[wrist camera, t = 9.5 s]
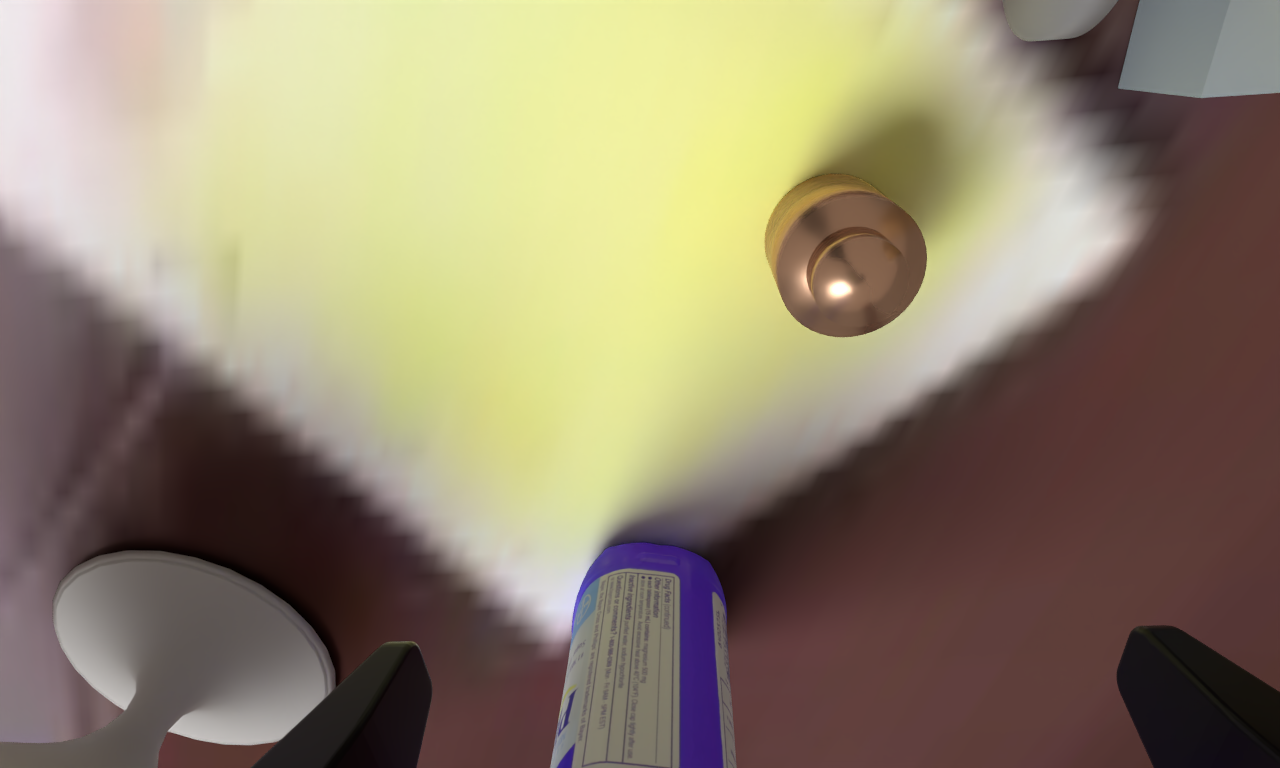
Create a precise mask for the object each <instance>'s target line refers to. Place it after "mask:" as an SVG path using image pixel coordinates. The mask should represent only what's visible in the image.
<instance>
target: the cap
mask: <svg viewBox="0 0 1280 768" xmlns="http://www.w3.org/2000/svg"><path fill="white" fill-rule="evenodd" d="M765 252H766V257H767V260H768V263H769V266H770V268H771V271H772V274H773V276H774V279H775V281H776V284H777V287H778V289H779V292H780V294H781V297H782V300H783V302H784V304H785V306H786V308H787V309H788V310H789V312H790V313H791V315H792V316H793V317H794V318H795V319H796V320H797V321H798V322H800V323H801V324H802V325H804V326H805V327H807V328H809V329H810V330H812V331H815V332H817V333H820V334H823V335H827V336H834V337H852V336H858V335H863V334H866V333H869V332H872V331H875V330H877V329H879V328H881V327H883V326H885V325H886V324H888V323H890V322H891V321H893V320H894V319H895V318H896V317H898V316H899V315H900V314H901V313H902V312H903V311H904V310H905V309H906V308H907V307H908V306H909V304H910V303H911V302H912V301H913V299H914V297H915V296H916V294H917V293H918V291H919V289H920V287H921V284H922V281H923V278H924V275H925V270H926V262H927V253H926V246H925V241H924V238H923V236H922V233H921V231H920V229H919V227H918V226H917V224H916V223H915V221H914V220H913V219H912V218H911V216H909V215H908V214H907V213H906V212H905V211H904V210H903V209H901V208H900V207H899V206H897V205H896V204H895V203H894V202H892V201H891V200H890V199H888V198H887V197H886V196H885V195H883V194H882V193H881V192H879V191H878V190H877V189H876V188H874V187H873V186H872V185H870V184H869V183H867V182H866V181H864V180H862V179H860V178H857V177H854V176H851V175H845V174H826V175H821V176H817V177H814V178H811V179H809V180H806V181H804V182H803V183H801V184H799V185H797V186H796V187H795V188H793V189H792V190H791V191H789V192H788V193H787V194H786V195H785V196H784V197H783V198H782V199H781V201H780V202H779V203H778V204H777V206H776V207H775V209H774V211H773V213H772V215H771V217H770V219H769V222H768V225H767V228H766V233H765Z"/></svg>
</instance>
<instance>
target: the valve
mask: <svg viewBox="0 0 1280 768" xmlns="http://www.w3.org/2000/svg"><path fill="white" fill-rule="evenodd" d="M1002 1H1003V6H1004V11H1005V15H1006V19H1007V21H1008V24H1009V26H1010V28H1011V29H1012V31H1013V33H1014V34H1015V35H1016V36H1017V37H1018V38H1020V39H1022V40H1024V41H1042V40H1056V39H1069V38H1075V37H1078V36H1080V35H1083V34H1085V33H1086V32H1088V31H1089V30H1091V29H1092V28H1093V27H1095V26H1096V25H1097V24H1098V23H1099V22H1100V21H1101V20H1102V19H1103V18H1104V17H1105V16H1106V15H1107V14H1108V13H1109V12H1110V10H1111V9H1112V8H1113V7H1114V5H1115V4H1116V3H1117V1H1118V0H1002ZM1118 88H1119V89H1128V90H1136V91H1145V92H1154V93H1163V94H1171V95H1180V96H1189V97H1198V98H1206V97H1222V96H1237V95H1252V94H1267V93H1280V0H1140V1H1139V5H1138V9H1137V13H1136V17H1135V21H1134V25H1133V29H1132V33H1131V37H1130V42H1129V46H1128V50H1127V54H1126V58H1125V62H1124V66H1123V70H1122V74H1121V78H1120V82H1119V86H1118Z"/></svg>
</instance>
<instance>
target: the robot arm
mask: <svg viewBox="0 0 1280 768" xmlns="http://www.w3.org/2000/svg"><path fill="white" fill-rule="evenodd" d="M1117 684H1118V688H1119V691H1120V693H1121V696H1122V698H1123V700H1124V703H1125V705H1126V707H1127V709H1128V711H1129V714H1130V716H1131V718H1132V720H1133V723H1134V725H1135V727H1136V729H1137V732H1138V734H1139V736H1140V738H1141V740H1142V743H1143V745H1144V747H1145V749H1146V752H1147V754H1148V756H1149V758H1150V761H1151V763H1152V765H1153V767H1154V768H1280V692H1279V691H1277V690H1276V689H1274V688H1273V687H1271V686H1269V685H1268V684H1266V683H1265V682H1263V681H1261V680H1260V679H1258V678H1257V677H1255V676H1254V675H1252V674H1250V673H1249V672H1247V671H1246V670H1244V669H1242V668H1241V667H1239V666H1238V665H1236V664H1235V663H1233V662H1231V661H1230V660H1228V659H1227V658H1225V657H1224V656H1222V655H1220V654H1219V653H1217V652H1216V651H1214V650H1212V649H1211V648H1209V647H1208V646H1206V645H1205V644H1203V643H1201V642H1200V641H1198V640H1197V639H1195V638H1193V637H1192V636H1190V635H1189V634H1187V633H1186V632H1184V631H1182V630H1180V629H1178V628H1176V627H1173V626H1166V625H1160V626H1138V627H1136V628H1134V629H1133V630H1132V631H1131V633H1130V635H1129V638H1128V640H1127V643H1126V646H1125V649H1124V652H1123V654H1122V657H1121V660H1120V663H1119V666H1118V669H1117ZM431 699H432V682H431V679H430V676H429V673H428V670H427V667H426V665H425V662H424V659H423V656H422V654H421V651H420V648H419V646H418V645H417V644H416V643H415V642H412V641H399V642H387V643H385V644H383V645H381V646H380V647H379V648H378V649H377V650H376V651H374V652H373V653H372V654H371V655H370V656H369V657H368V658H367V659H366V660H365V661H364V662H363V663H362V664H361V665H360V666H359V667H357V668H356V669H355V670H354V671H353V672H352V673H351V674H350V675H349V676H348V677H347V678H346V679H345V680H344V681H343V682H341V683H340V684H339V685H338V686H337V687H336V688H335V689H334V690H333V691H332V692H331V693H330V694H329V695H328V696H327V697H326V698H324V699H323V700H322V701H321V702H320V703H319V704H318V705H317V706H316V707H315V708H314V709H313V710H312V711H311V712H310V713H308V714H307V715H306V716H305V717H304V718H303V719H302V720H301V721H300V722H299V723H298V724H297V725H296V726H295V727H294V728H293V729H291V730H290V731H289V732H288V733H287V734H286V735H285V736H284V737H283V738H282V739H281V740H280V741H279V742H278V743H277V744H275V745H274V746H273V747H272V748H271V749H270V750H269V751H268V752H267V753H266V754H265V755H264V756H263V757H262V758H261V759H260V760H258V761H257V762H256V763H255V764H254V765H253V766H252V767H251V768H416V767H417V763H418V758H419V754H420V749H421V745H422V740H423V736H424V731H425V727H426V722H427V718H428V713H429V709H430V704H431Z"/></svg>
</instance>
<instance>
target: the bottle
mask: <svg viewBox="0 0 1280 768" xmlns="http://www.w3.org/2000/svg"><path fill="white" fill-rule="evenodd" d="M726 624H727V608H726V602H725V597H724V593H723V589H722V586H721V583H720V581H719V579H718V577H717V574H716V573H715V571H714V569H713V567H712V566H711V564H710V562H709V561H707V560H706V559H704V558H702V557H701V556H699V555H697V554H695V553H693V552H690V551H688V550H685V549H682V548H679V547H675V546H668V545H656V544H652V543H644V542H641V543H627V544H621V545H617V546H613V547H608V548H606V549H605V550H604V551H603V553H602V554H601V555H600V556H599V557H598V558H597V559H596V560H595V562H594V563H593V564H592V566H591V567H590V569H589V570H588V572H587V574H586V576H585V578H584V580H583V582H582V585H581V587H580V590H579V593H578V595H577V599H576V603H575V607H574V613H573V621H572V639H571V646H570V653H569V660H568V667H567V673H566V679H565V685H564V691H563V697H562V703H561V709H560V715H559V721H558V727H557V732H556V738H555V744H554V750H553V755H552V761H551V767H550V768H736V755H735V741H734V727H733V713H732V700H731V688H730V675H729V658H728V640H727V627H726Z"/></svg>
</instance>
